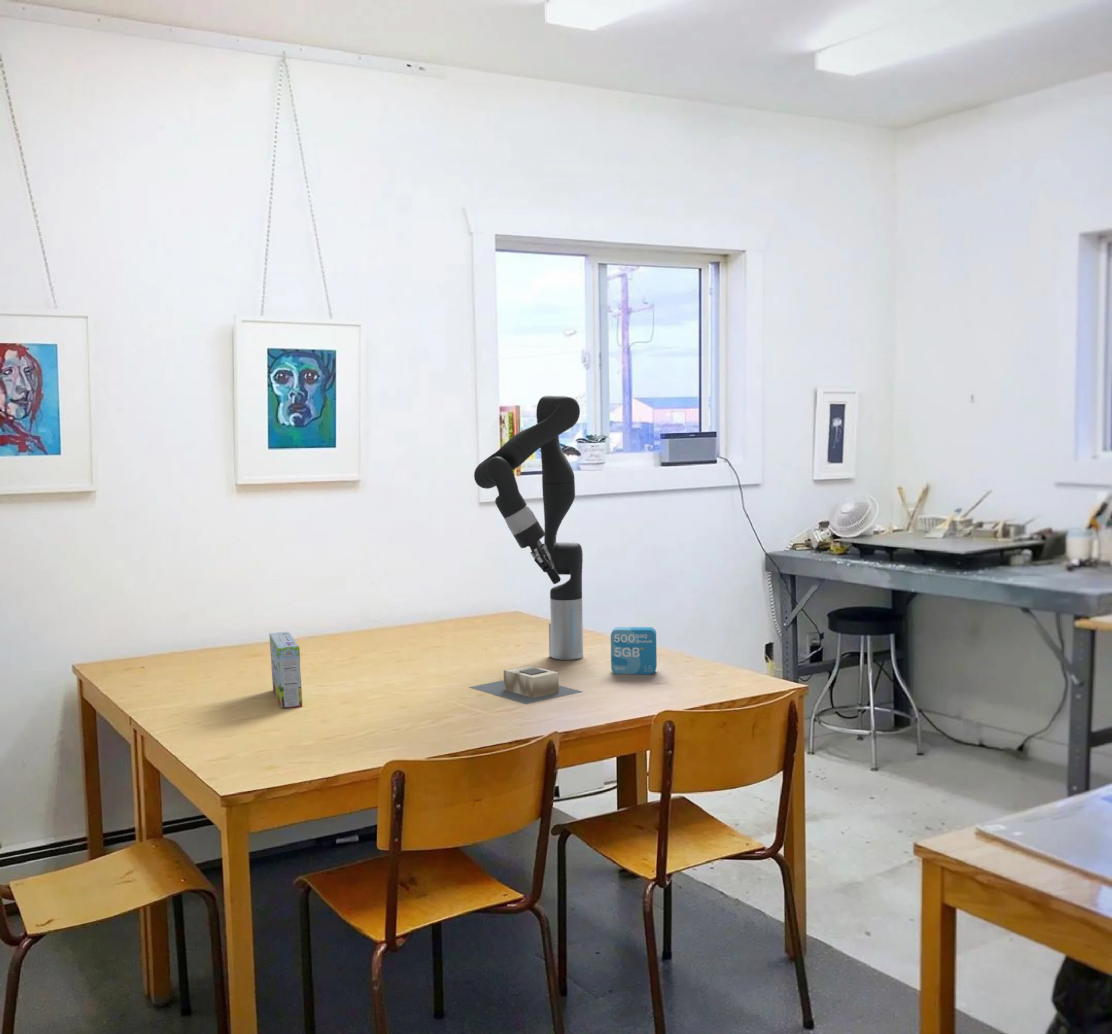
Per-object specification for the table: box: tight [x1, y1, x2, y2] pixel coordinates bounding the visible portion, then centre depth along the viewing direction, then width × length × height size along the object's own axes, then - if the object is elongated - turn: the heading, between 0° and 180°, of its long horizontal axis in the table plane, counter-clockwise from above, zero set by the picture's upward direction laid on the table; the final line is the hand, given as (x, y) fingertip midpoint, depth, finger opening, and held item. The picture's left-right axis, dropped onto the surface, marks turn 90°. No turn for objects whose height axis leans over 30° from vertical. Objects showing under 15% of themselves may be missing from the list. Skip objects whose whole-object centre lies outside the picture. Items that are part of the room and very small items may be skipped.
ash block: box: [503, 664, 560, 698], centre depth 271 cm, size 5×8×12 cm
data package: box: [610, 626, 658, 675], centre depth 291 cm, size 12×4×12 cm, turn 83°
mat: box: [468, 679, 584, 705], centre depth 273 cm, size 24×18×1 cm
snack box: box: [269, 631, 303, 710], centre depth 270 cm, size 21×6×15 cm, turn 21°
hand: (557, 582), depth 288 cm, fingers closed
